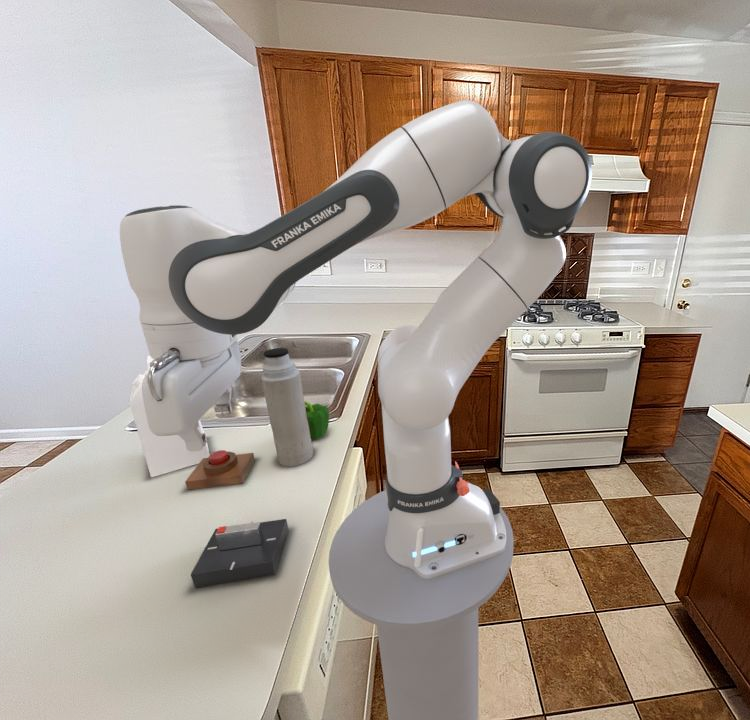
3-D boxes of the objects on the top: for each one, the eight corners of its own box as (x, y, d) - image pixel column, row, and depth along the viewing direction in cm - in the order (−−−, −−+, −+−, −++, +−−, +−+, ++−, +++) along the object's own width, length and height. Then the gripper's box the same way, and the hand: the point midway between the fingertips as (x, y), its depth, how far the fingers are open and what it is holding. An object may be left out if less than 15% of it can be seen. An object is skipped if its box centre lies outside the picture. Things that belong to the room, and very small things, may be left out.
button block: (255, 460, 97) (251, 446, 96) (242, 483, 89) (238, 468, 87) (205, 465, 95) (201, 451, 93) (187, 489, 86) (182, 474, 85)
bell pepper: (338, 432, 109) (333, 399, 106) (312, 446, 103) (307, 412, 99) (318, 424, 113) (313, 392, 110) (292, 437, 107) (286, 404, 103)
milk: (210, 459, 97) (183, 360, 88) (151, 477, 91) (114, 372, 81) (206, 439, 106) (181, 347, 97) (152, 453, 99) (119, 356, 90)
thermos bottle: (309, 444, 104) (291, 342, 94) (316, 459, 97) (298, 352, 88) (275, 454, 99) (253, 348, 90) (281, 470, 93) (258, 359, 83)
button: (231, 455, 92) (229, 449, 92) (225, 464, 89) (223, 458, 89) (214, 457, 92) (212, 451, 91) (207, 466, 88) (205, 460, 88)
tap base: (289, 529, 76) (286, 516, 75) (274, 576, 66) (271, 562, 65) (220, 539, 73) (216, 526, 72) (193, 590, 63) (188, 575, 62)
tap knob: (264, 537, 70) (259, 520, 69) (261, 544, 68) (257, 527, 67) (223, 543, 69) (218, 526, 67) (219, 550, 67) (214, 533, 66)
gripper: (178, 364, 43) (206, 471, 48) (241, 318, 62) (257, 398, 66) (110, 367, 42) (146, 477, 46) (196, 320, 60) (215, 401, 65)
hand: (212, 430), depth 57 cm, fingers open, 8 cm apart
